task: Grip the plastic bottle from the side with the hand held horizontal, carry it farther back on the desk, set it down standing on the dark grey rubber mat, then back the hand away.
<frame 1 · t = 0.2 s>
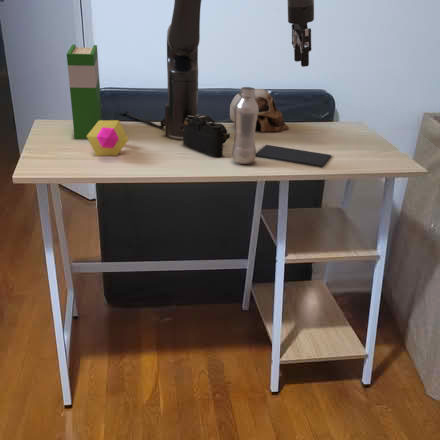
hand: (301, 63, 169), 22 cm above the table, tool pointing down, fingers open, 8 cm apart
mat: (293, 156, 164), on the table
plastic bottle: (243, 163, 157), on the table
toy: (108, 153, 159), on the table
film camera: (207, 149, 167), on the table
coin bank: (258, 128, 189), on the table
hardback book: (89, 131, 177), on the table
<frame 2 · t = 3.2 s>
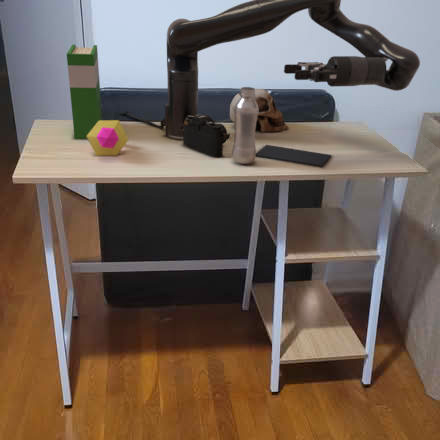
hand: (289, 72, 146), 24 cm above the table, tool horizontal, fingers open, 8 cm apart
nothing on the table moved.
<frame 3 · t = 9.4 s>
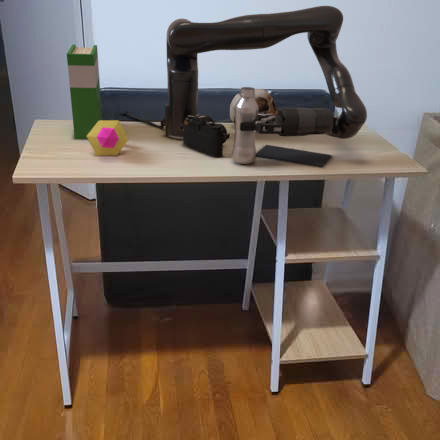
hand: (237, 123, 151), 11 cm above the table, tool horizontal, fingers closed on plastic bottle, 6 cm apart
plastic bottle: (243, 163, 157), on the table, touching gripper
everything else where it was.
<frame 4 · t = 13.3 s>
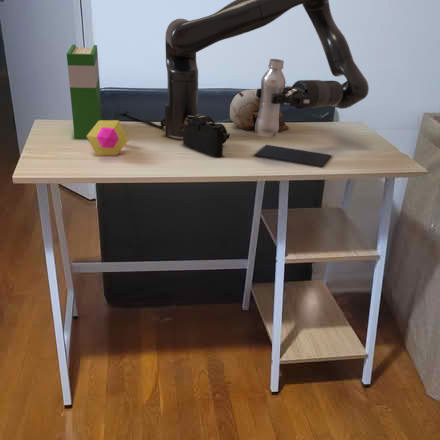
hand: (264, 96, 149), 18 cm above the table, tool horizontal, fingers closed on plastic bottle, 6 cm apart
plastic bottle: (265, 137, 156), point 7 cm above the table, touching gripper
everything else where it was.
when the fingers open (12 cm above the table, at t = 17.5 s): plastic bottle stays where it is, resting on mat.
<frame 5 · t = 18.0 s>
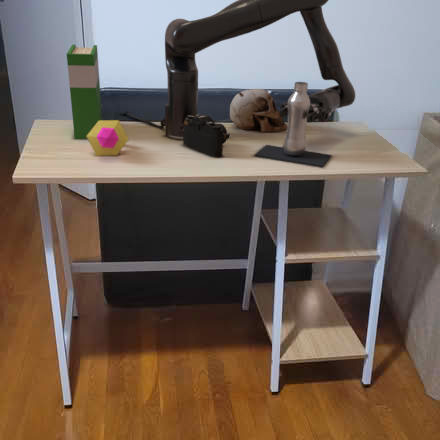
hand: (294, 116, 156), 12 cm above the table, tool horizontal, fingers open, 8 cm apart
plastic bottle: (293, 155, 164), resting on mat
everything else where it was.
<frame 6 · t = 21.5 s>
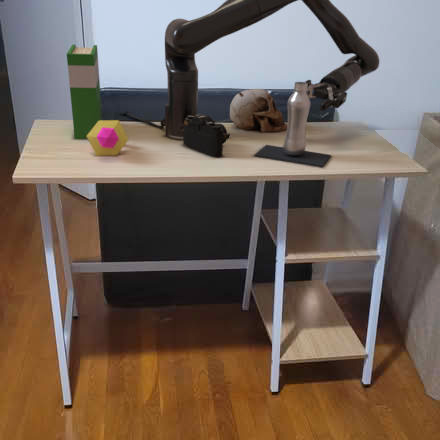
hand: (309, 103, 163), 14 cm above the table, tool horizontal, fingers open, 8 cm apart
nothing on the table moved.
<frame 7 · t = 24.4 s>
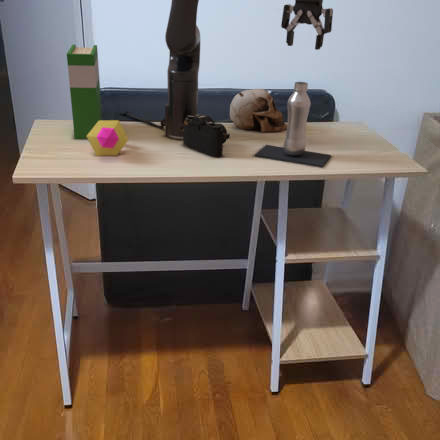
hand: (303, 47, 158), 28 cm above the table, tool pointing down, fingers open, 8 cm apart
nothing on the table moved.
at the end: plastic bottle inside the target area on the mat (0.1 cm from its centre), point 0.3 cm above the mat's base; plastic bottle tilted 0°; the gripper is holding nothing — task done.
